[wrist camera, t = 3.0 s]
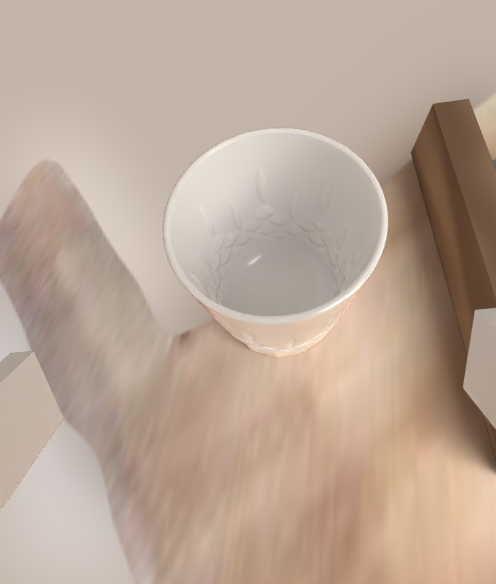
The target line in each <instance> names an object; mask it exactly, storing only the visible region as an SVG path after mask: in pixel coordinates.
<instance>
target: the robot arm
mask: <svg viewBox="0 0 496 584" xmlns="http://www.w3.org/2000/svg"><path fill="white" fill-rule="evenodd" d="M463 389H464V390H465V391H466V392H467V394H468V395H469V396H470V398H471V399H472V400H473V401H474V403H475V404H476V405H477V406H478V408H479V409H480V410H481V411H482V413H483V414H484V415H485V416H486V418H487V419H488V420H489V421H490V423H491V424H492V425H493V426H494V428H495V429H496V308H490V309H479V310H475V313H474V320H473V326H472V332H471V339H470V345H469V352H468V358H467V364H466V371H465V377H464V383H463ZM63 419H64V418H63V415H62V413H61V411H60V409H59V406H58V404H57V402H56V400H55V397H54V395H53V393H52V391H51V388H50V386H49V384H48V382H47V379H46V377H45V375H44V373H43V371H42V368H41V366H40V364H39V362H38V359H37V357H36V355H35V353H34V351H28V352H18V353H10V354H9V355H8V356H7V357H6V358H5V359H3V360H2V361H1V362H0V511H1V509H2V508H3V507H4V505H5V504H6V502H7V501H8V499H9V498H10V496H11V495H12V493H13V492H14V491H15V489H16V488H17V486H18V485H19V483H20V482H21V480H22V479H23V477H24V476H25V474H26V473H27V471H28V470H29V469H30V467H31V466H32V464H33V463H34V461H35V460H36V458H37V457H38V455H39V454H40V453H41V451H42V449H43V448H44V447H45V445H46V443H47V442H48V441H49V439H50V438H51V436H52V435H53V434H54V432H55V431H56V429H57V428H58V426H59V425H60V423H61V422H62V420H63Z"/></svg>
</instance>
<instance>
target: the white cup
mask: <svg viewBox="0 0 496 584" xmlns="http://www.w3.org/2000/svg"><path fill="white" fill-rule="evenodd" d="M387 230H388V213H387V206H386V201H385V197H384V194H383V191H382V189H381V187H380V184H379V182H378V181H377V179H376V177H375V176H374V174H373V172H372V171H371V170H370V168H369V167H368V166H367V165H366V163H365V162H364V161H363V160H362V159H361V158H359V156H357V155H356V154H355V153H354V152H353V151H351V150H350V149H349V148H347V147H346V146H344V145H343V144H341V143H339V142H337V141H335V140H333V139H331V138H329V137H327V136H324V135H322V134H318V133H315V132H312V131H307V130H302V129H296V128H265V129H258V130H253V131H249V132H245V133H242V134H239V135H236V136H233V137H231V138H228V139H226V140H224V141H222V142H220V143H218V144H216V145H215V146H213V147H211V148H210V149H208V150H207V151H206V152H204V153H203V154H202V155H200V156H199V157H198V158H197V159H196V160H195V161H194V162H193V163H192V164H191V165H190V166H189V167H188V168H187V169H186V170H185V171H184V173H183V174H182V175H181V177H180V178H179V180H178V181H177V183H176V184H175V186H174V188H173V190H172V192H171V194H170V196H169V199H168V202H167V205H166V209H165V213H164V220H163V240H164V247H165V251H166V254H167V258H168V260H169V263H170V265H171V267H172V269H173V271H174V273H175V275H176V276H177V278H178V279H179V281H180V282H181V283H182V284H183V286H184V287H185V288H186V289H187V290H188V291H189V292H190V293H191V294H192V296H193V297H194V298H196V300H197V301H199V303H200V304H202V306H203V307H204V308H205V309H206V310H207V311H208V312H209V313H210V314H211V315H212V316H213V317H214V318H215V319H216V320H217V321H218V322H219V323H220V324H221V325H222V326H223V327H224V328H225V329H226V330H227V331H228V332H229V333H231V334H232V335H233V336H234V337H235V338H236V339H238V340H240V341H241V342H243V343H244V344H245V345H246V346H247V347H249V348H250V349H251V350H252V351H255V352H259V353H263V354H266V355H270V356H273V357H283V356H288V355H294V354H300V353H303V352H305V351H306V350H308V349H309V348H310V347H312V346H313V345H314V344H316V343H317V342H319V341H320V340H321V339H323V338H324V336H325V335H326V333H327V332H328V331H329V330H330V329H331V328H332V327H333V326H334V325H335V324H336V322H337V321H338V320H339V319H340V317H341V316H342V315H343V314H344V312H345V311H346V309H347V308H348V306H349V305H350V303H351V302H352V300H353V299H354V297H355V296H356V294H357V293H358V292H359V290H360V289H361V287H362V286H363V285H364V283H365V282H366V280H367V279H368V278H369V276H370V275H371V273H372V272H373V270H374V269H375V267H376V265H377V263H378V261H379V259H380V257H381V255H382V252H383V249H384V246H385V242H386V237H387Z"/></svg>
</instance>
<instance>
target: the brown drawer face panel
mask: <svg viewBox="0 0 496 584" xmlns="http://www.w3.org/2000/svg"><path fill="white" fill-rule="evenodd" d="M411 154H412V158H413V161H414V165H415V169H416V172H417V176H418V179H419V183H420V187H421V190H422V194H423V197H424V201H425V205H426V208H427V212H428V216H429V219H430V223H431V226H432V230H433V234H434V237H435V241H436V244H437V248H438V252H439V255H440V259H441V263H442V266H443V270H444V273H445V277H446V281H447V284H448V288H449V292H450V295H451V299H452V302H453V306H454V310H455V313H456V317H457V320H458V324H459V328H460V331H461V335H462V339H463V342H464V346H465V349H466V353H467V357H468V352H469V345H470V339H471V332H472V326H473V320H474V313H475V310H479V309H490V308H496V170H495V168H494V165H493V162H492V160H491V157H490V154H489V152H488V149H487V146H486V144H485V141H484V138H483V136H482V133H481V130H480V128H479V125H478V122H477V119H476V117H475V114H474V111H473V109H472V106H471V104H470V101H469V99H466V100H458V101H451V102H443V103H437V104H433V105H432V108H431V110H430V112H429V114H428V116H427V118H426V121H425V123H424V125H423V127H422V130H421V132H420V134H419V136H418V138H417V141H416V143H415V145H414V147H413V149H412V152H411ZM483 415H484V414H483ZM484 418H485V422H486V425H487V429H488V433H489V436H490V440H491V443H492V447H493V451H494V454H495V458H496V429H495V428H494V426H493V425H492V424H491V423H490V421H489V420H488V419H487V418H486V416H485V415H484Z"/></svg>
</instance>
